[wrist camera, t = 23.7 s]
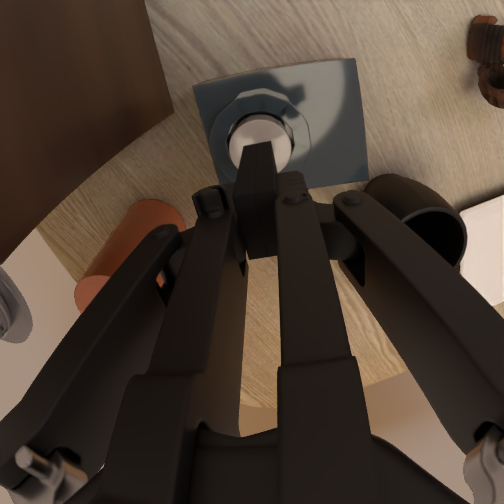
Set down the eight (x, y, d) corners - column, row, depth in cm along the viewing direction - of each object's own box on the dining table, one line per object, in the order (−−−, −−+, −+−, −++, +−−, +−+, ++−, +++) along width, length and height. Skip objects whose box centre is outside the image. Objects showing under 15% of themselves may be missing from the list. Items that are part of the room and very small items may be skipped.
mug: (352, 267, 34) (373, 332, 26) (344, 166, 28) (376, 215, 20) (418, 255, 33) (451, 313, 25) (422, 156, 26) (474, 199, 19)
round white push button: (239, 172, 23) (237, 183, 21) (225, 120, 20) (222, 126, 19) (293, 162, 22) (296, 172, 20) (283, 109, 20) (285, 114, 18)
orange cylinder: (138, 260, 35) (100, 341, 25) (114, 207, 31) (59, 280, 21) (195, 251, 34) (170, 338, 24) (173, 192, 30) (131, 269, 20)
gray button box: (229, 185, 29) (222, 215, 24) (201, 81, 24) (185, 88, 19) (356, 164, 27) (376, 190, 22) (342, 57, 22) (363, 58, 17)
